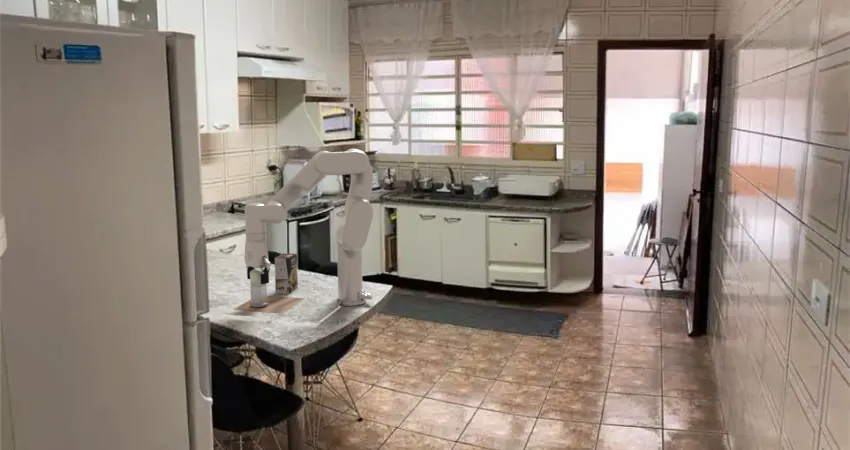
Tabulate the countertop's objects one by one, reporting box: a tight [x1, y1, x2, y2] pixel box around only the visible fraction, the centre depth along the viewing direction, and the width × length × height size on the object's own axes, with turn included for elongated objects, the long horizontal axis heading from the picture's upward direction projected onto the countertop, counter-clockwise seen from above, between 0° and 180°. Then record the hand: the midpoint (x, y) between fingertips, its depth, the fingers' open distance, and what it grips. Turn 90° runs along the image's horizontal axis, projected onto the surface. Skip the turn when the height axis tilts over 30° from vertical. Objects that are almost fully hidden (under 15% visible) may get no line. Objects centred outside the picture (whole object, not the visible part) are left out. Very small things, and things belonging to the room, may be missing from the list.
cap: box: [249, 268, 268, 287], centre depth 260 cm, size 6×6×6 cm
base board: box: [233, 294, 305, 315], centre depth 264 cm, size 20×20×2 cm
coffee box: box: [274, 253, 299, 295], centre depth 282 cm, size 9×6×16 cm
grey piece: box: [249, 285, 268, 308], centre depth 261 cm, size 7×7×8 cm
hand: (258, 281), depth 260 cm, fingers open, 9 cm apart
